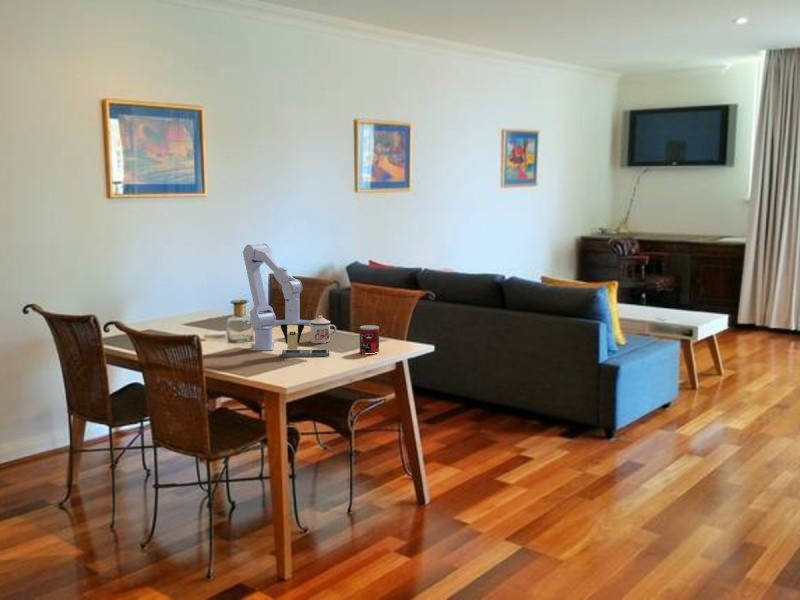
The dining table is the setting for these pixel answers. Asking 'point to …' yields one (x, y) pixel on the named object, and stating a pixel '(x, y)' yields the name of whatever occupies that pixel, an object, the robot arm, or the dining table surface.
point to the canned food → (369, 339)
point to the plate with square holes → (305, 353)
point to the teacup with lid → (321, 330)
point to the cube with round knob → (292, 341)
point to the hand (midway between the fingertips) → (292, 343)
